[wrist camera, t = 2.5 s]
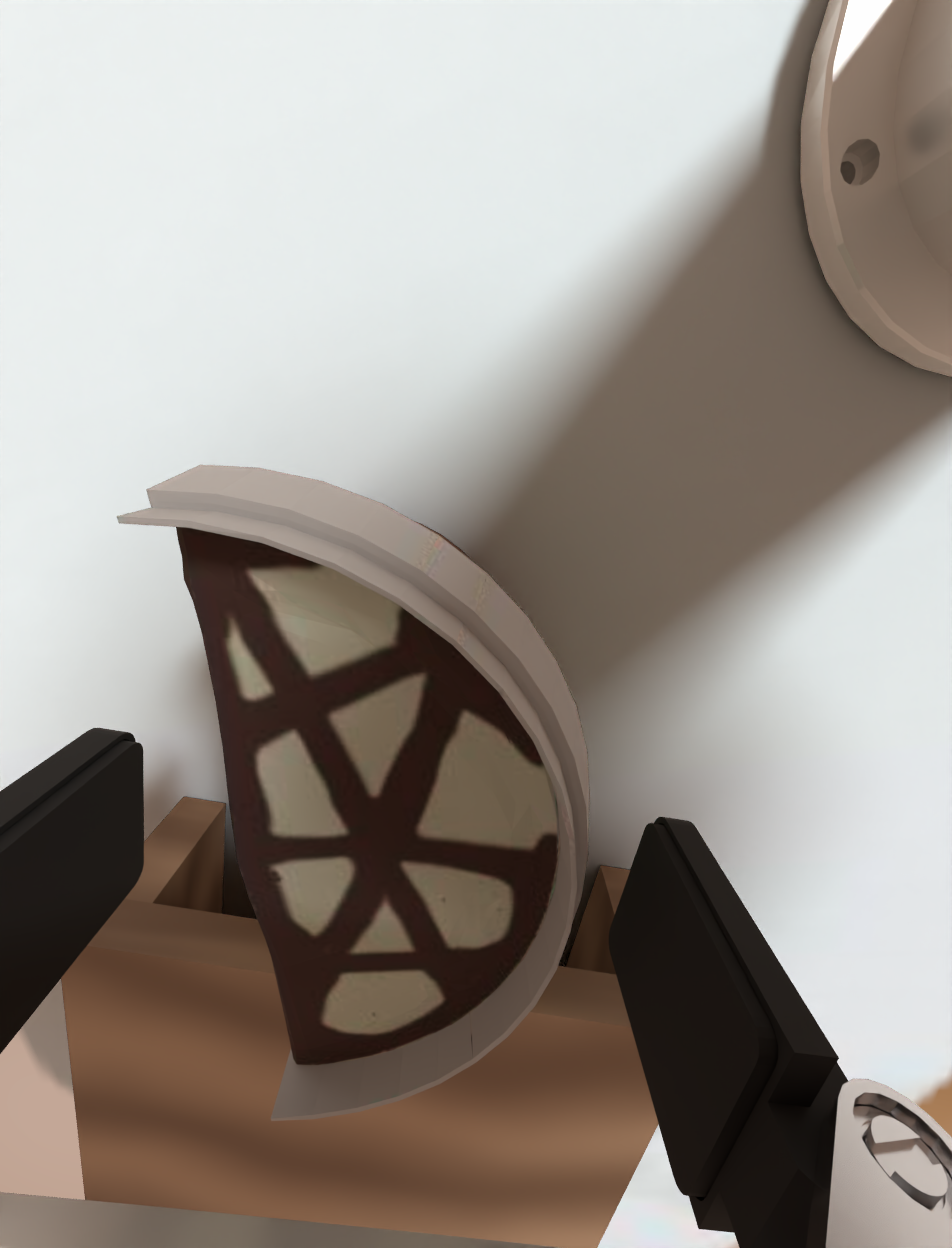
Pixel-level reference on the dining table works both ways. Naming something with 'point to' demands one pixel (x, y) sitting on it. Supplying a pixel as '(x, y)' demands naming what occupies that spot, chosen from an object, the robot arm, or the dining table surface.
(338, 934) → the food container
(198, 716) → the dining table surface
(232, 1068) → the walnut shelf
